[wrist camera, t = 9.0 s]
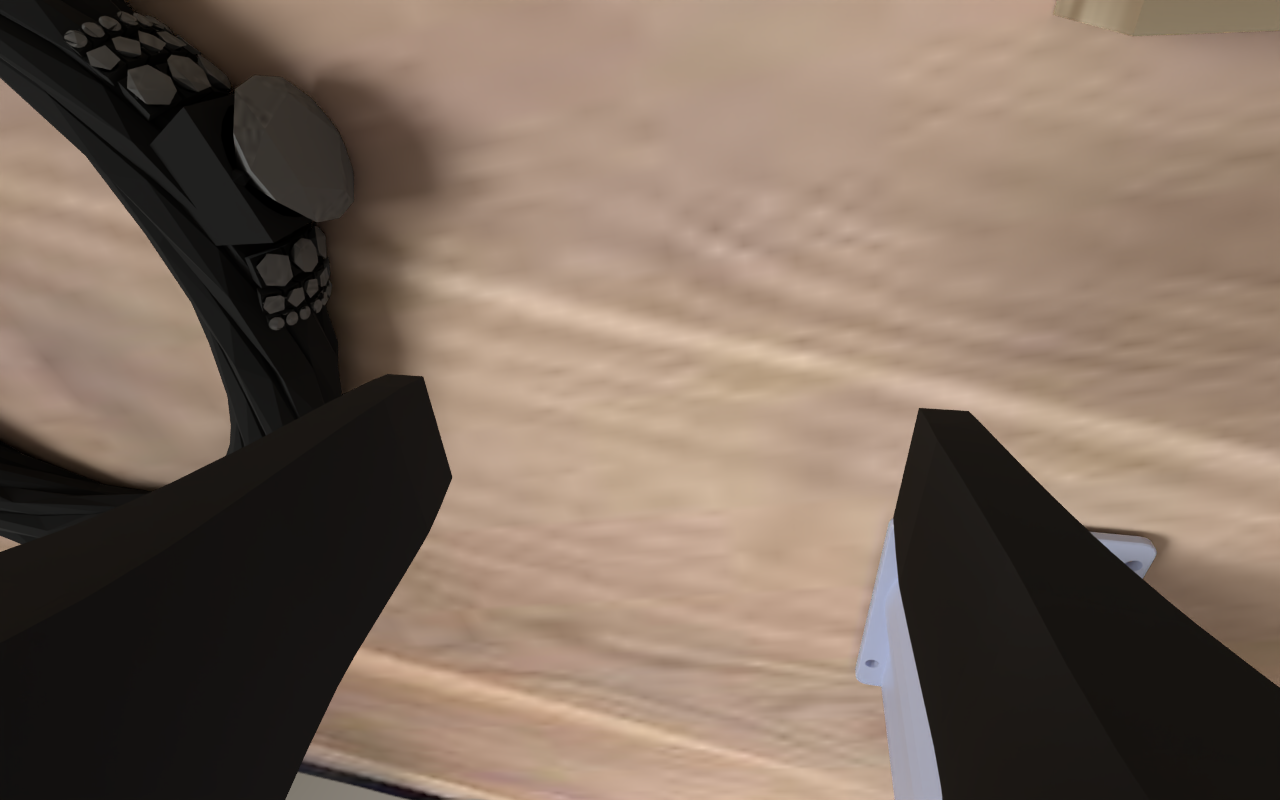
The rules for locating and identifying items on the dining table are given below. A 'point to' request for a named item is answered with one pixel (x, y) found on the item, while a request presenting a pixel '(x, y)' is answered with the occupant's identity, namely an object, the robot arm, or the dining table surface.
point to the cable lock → (189, 214)
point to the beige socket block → (1173, 15)
